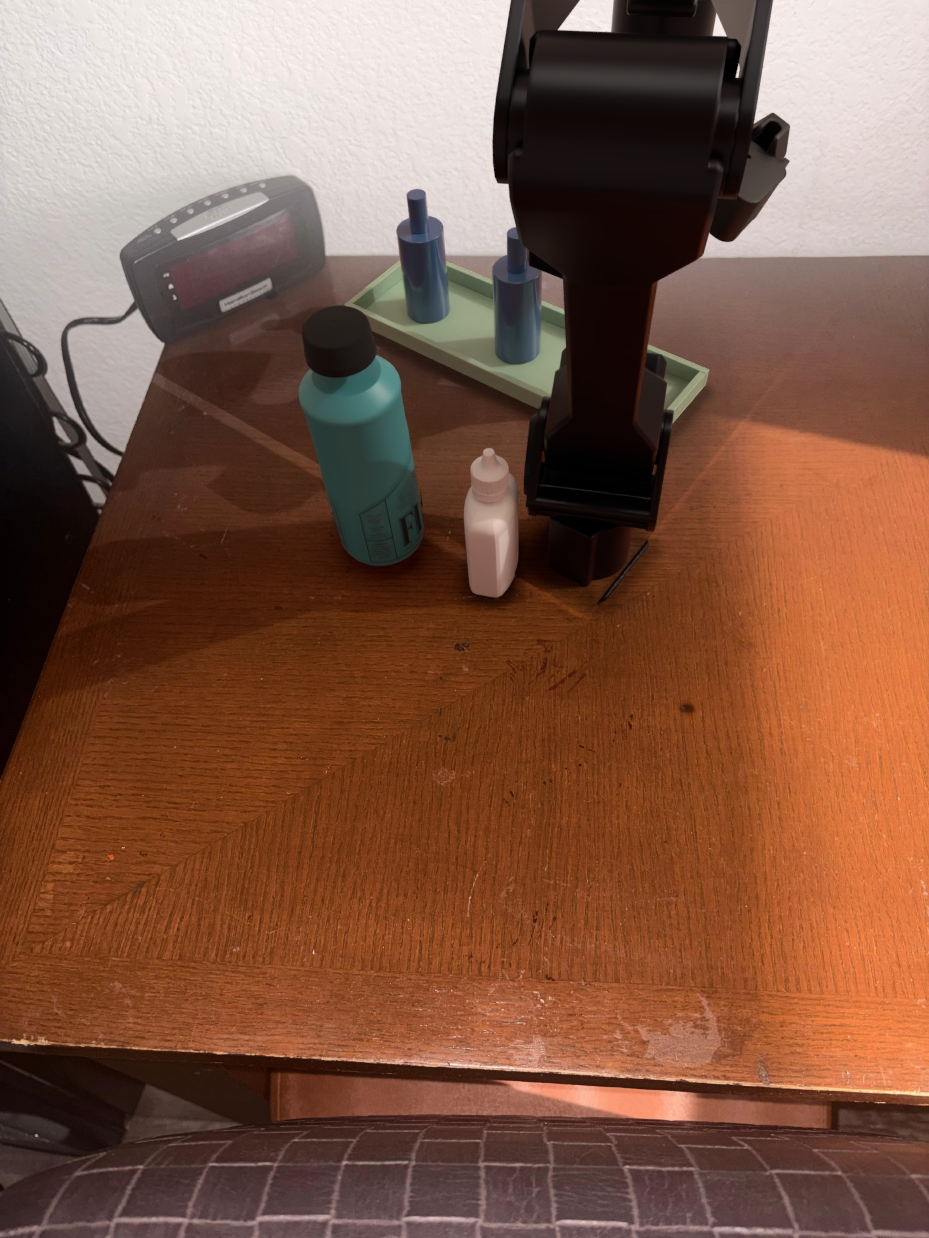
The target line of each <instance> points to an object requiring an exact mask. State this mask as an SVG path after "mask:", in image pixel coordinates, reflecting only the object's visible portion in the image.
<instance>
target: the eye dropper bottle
mask: <svg viewBox="0 0 929 1238" xmlns="http://www.w3.org/2000/svg"><path fill="white" fill-rule="evenodd" d="M469 472H470V485H471V486H470V487H469V489H468V491H467V494H466V496H465V500H464V506H463V526H464V527H463V528H464V538H465V541H464V542H465V551H466V562H467V573H468V585H469V588H470V591H471V592H472V593H473V594H474V595H479V596H482V597H489V598H500V597H502V596H503V595H504V594H505V592H506V591H507V590H508V589H509V587H510V586H511V584H512V583H513V581H514V578H515V577H516V574H515V573H516V570H517V567H518V563H519V551H520V549H519V490H518V484H517V481H516V479H515V477H514V476H513V474H511V473H510V469H509V464H508V461H507V460H505V458H503V457H502V456H500V455H497V454H496V453H495V450H494V449H493V448H491V447H487V448H485V449H483V451H482V454H481V456H478V457H477V458H476V459H474V460H473V462H472V463H471V466H470V471H469Z"/></svg>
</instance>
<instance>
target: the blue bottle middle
mask: <svg viewBox="0 0 929 1238" xmlns="http://www.w3.org/2000/svg"><path fill="white" fill-rule="evenodd" d="M491 277H492V279H491V280H492V281H493V313H494V345H495V353H496V355H497V357H498V358H499V359H500V360H502V361H504V362H506V363H509V364H524V363H528V362H530V361H532V360H534V359H535V358H536V357H537V356H538V354H539V353H540V345H541V304H542V301H543V300H542V297H543V271H541V270H538V269H536V268H533V267H531V266H529V264H528V260H527V248H525V247H524V246H523V244H522V243H521V242H520V240H519V238H518V233H517V229H516V226H514V227H511V228H508V230H507V231H506V254H505V255H503V256H501V257H499V258H498V259H497V260H495V261H494V263H493V265H492V268H491Z"/></svg>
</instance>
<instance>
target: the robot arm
mask: <svg viewBox="0 0 929 1238" xmlns="http://www.w3.org/2000/svg"><path fill="white" fill-rule="evenodd" d="M580 1H581V0H510V3H509V9H508V15H507V23H506V29H505V35H504V43H503V49H502V54H501V61H500V66H499V67H500V68H499V74H498V81H497V86H496V92H495V93H496V94H495V102H494V110H493V119H492V121H493V122H492V141H491V142H492V145H491V146H492V167H493V175H494V179H495V181H496V183H497V184H499V185H500V184H502V185H508V195H509V203H510V208H511V212H512V216H513V221H514V223H515V227H516V229H517V233H518V238H519V240H520V242H521V243H522V244H523V246H524V247H525V248H527V260H528V264H529V266H531V267H533V268H536V269H538V270H541V271H542V273H543V272H544V273H546V274H549V275H551V276H552V277H553V276H554V277H556V278H558V279H560V280H562V287H563V288H562V291H563V309H564V315H565V337H566V348H565V349H564V350H563V351H562V354H561V361H560V367H559V369H558V370H557V371H555V375H554V381H553V387H552V393H551V397H550V396H544V397H543V399H542V402H541V406H539V409H537V412H536V413H534V414H533V415H532V416H531V417H530V418H529V424H528V433H527V441H526V442H527V443H526V451H525V458H524V459H525V460H524V469H523V494H524V495H525V496H526V499H525V501H526V502H525V508H527V514H528V516H531V517H537V516H542V517H549V522H548V523H549V524H548V525H549V526H548V545H547V546H548V548H547V568H548V569H550V570H552V571H554V572H556V573H558V575H561V576H562V577H565V578H567V579H569V580H570V581H572V582H574V583H576V584H577V585H579V586H580V587H584V588H585V587H588V586H589V585H590V584H591V583H592V582H593V581H598V580H604V579H607V578H610V577H612V576H614V575H616V574H617V573H618V572H619V571H621V570H622V571H621V572H620V573H619V574H618V576H617V577H616V578H615V579H614V580H613V582H612V583H611V584H610V586H609V587H608V588H607V589H606V591H605V592H604V593H603V594H602V596H601V597H600V598H599V599H598V602H599V603H604V602H606V601H607V600H608V599H609V597H610V596H611V595H612V594H613V592H614V591H615V590H616V589H617V587H618V586H619V585H620V583H622V581H623V580H624V579H625V577H626V576H627V575H628V574H629V572H630V571H631V570H632V568H633V567H634V566H635V565H636V564H637V562H638V561H639V560H640V558H641V557H642V556H643V555H644V554H645V552H646V551H647V549H648V546H649V544H650V543H649V540H648V539H646V540H645V542H644V543H643V544H642V545H641V547H640V548H639V549H638V551H637V552H636V553H635V554H634V556H633V557H632V558H631V559H630V560H629V562H628V563H627V561H628V559H629V555H630V550H631V544H632V538H633V533H634V529H638V530H639V529H641V530H645V531H646V532H652V533H654V532H655V529H656V525H657V521H658V516H659V508H660V502H661V499H662V498H661V497H662V491H663V485H664V478H665V473H666V467H667V461H668V455H669V449H670V442H671V436H672V430H673V424H674V423H673V415H674V410H669V409H664V403H665V397H666V390H667V382H666V381H665V380H664V377H665V371H666V365H667V362H666V360H665V358H664V357H663V355H662V354H655V353H647V348H648V344H649V341H650V334H651V329H652V324H651V322H652V323H653V318H652V315H653V316H654V312H653V309H654V310H655V306H654V302H655V303H656V300H655V296H656V297H657V294H656V289H657V290H658V288H657V283H658V284H659V282H658V281H660V280H662V279H664V278H667V277H669V276H670V275H672V274H674V273H675V272H678V271H679V270H682V269H683V268H686V267H687V266H689V265H690V264H691V265H692V264H693V263H695V262H696V261H698V260H699V259H701V258H702V257H703V256H704V254H705V251H706V247H707V243H708V239H709V237H710V235H711V236H712V237H713V238H714V239H716V240H718V241H720V242H723V243H731V242H734V241H735V240H736V239H738V238H739V236H740V235H741V233H742V232H743V231H744V230H745V229H746V228H747V227H748V226H749V225H750V224H751V223H752V222H753V221H754V220H755V219H756V218H757V217H758V216H759V214H760V212H761V211H762V210H763V208H764V207H765V205H766V204H767V203H768V201H769V199H770V198H771V197H772V195H773V194H774V192H775V191H776V189H777V187H778V186H779V185H780V184H781V182H783V180H784V179H785V178H786V177H787V166H788V165H789V164H790V162H791V161H790V160H789V159H788V158H787V157H786V156H787V152H788V145H789V137H790V130H791V124H790V123H788V122H787V121H785V120H784V119H783V118H782V117H781V116H779V115H778V114H776V113H775V112H770V113H768V114H767V115H765V116H764V117H762V118H761V119H759V120H758V121H756V122H755V119H756V113H757V109H758V101H759V94H760V88H761V82H762V74H763V69H764V63H765V62H764V61H765V55H766V49H767V44H768V36H769V31H770V24H771V17H772V11H773V5H774V0H613V2H612V3H613V4H612V14H611V27H610V31H594V30H593V31H592V30H571V29H570V30H567V29H566V30H565V29H560V28H561V26H562V25H563V24H564V23H565V21H566V19H568V17H569V16H570V14H571V13H572V12H573V10H574V9H575V8H576V6H577V5H578V4H579V2H580ZM717 17H718V19H719V22H720V24H721V26H722V29H723V31H724V33H725V35H714V29H715V24H716V19H717ZM738 69H739V70H738ZM737 73H738V77H737ZM650 328H651V329H650ZM672 423H673V424H672ZM626 563H627V565H626ZM624 566H625V567H624Z"/></svg>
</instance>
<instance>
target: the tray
mask: <svg viewBox="0 0 929 1238" xmlns="http://www.w3.org/2000/svg"><path fill="white" fill-rule="evenodd" d="M446 263H447V276H448V288H449V300H450V311H449V314H448V315H447V316H446V317H445V318H444V319H442V320H440V321H438V322H435V323H429V324H424V323H418V322H415V321H413V320H412V319H411V318H410V317H409V316H408V314H407V310H406V302H405V294H404V287H403V279H402V272H401V264H400V259H399V260H397V262H395V263H394V264H392V265H391V266H390V267H389V268H387V270H385V271H384V272H382V273H381V274H380V275H379V276H378V277H376V278H375V279H374V280H373V281H371V282H370V283H368V285H366V286H365V287H364V288H363V289H361V290H360V291H359V292H358V293H357V294H355V295H354V296H353V297H351V298H350V299H349V300H348V301H346V302H345V303H344V304H343V306H349V307H353V308H356V309H358V310H360V311H361V312H363V313H364V314H365V315H366V317H367V318H368V320H369V323H370V326H371V330H372V333H376V334H377V335H380V336H382V337H384V338H386V339H388V340H390V341H393V342H395V343H396V344H399V345H401V346H403V347H405V348H407V349H409V350H412V351H414V352H416V353H418V354H420V355H422V356H424V357H427V358H429V359H431V360H433V361H435V362H437V363H439V364H441V365H444V366H445V367H448V368H450V369H452V370H453V371H457V372H458V373H461V374H463V375H464V376H467V377H468V378H471V379H473V380H475V381H477V382H479V383H482V384H484V385H486V386H488V387H490V388H492V389H495V390H496V391H499V392H501V393H503V394H505V395H507V396H509V397H511V398H514V399H516V400H518V401H520V402H522V403H524V404H525V405H528V406H531V407H533V408H534V409H537V410H538V409H539V406H541V402H542V399H543V397H544V396H550V397H551V393H552V387H553V381H554V375H555V371H557V370H558V369H559V367H560V361H561V354H562V351H563V350H564V349H565V348H566V337H565V315H564V308H561V307H560V306H556V305H555V304H552V303H549V302H547V301H545V300H542V304H541V345H540V353H539V354H538V356H537V357H536V358H535V359H534V360H532V361H530V362H528V363H524V364H509V363H506V362H504V361H502V360H500V359H499V358H498V357H497V355H496V353H495V345H494V313H493V281H492V279H491V278H489V277H486V276H484V275H481V274H479V273H476V272H474V271H471V270H470V269H467V268H464V267H462V266H459V265H457V264H454V263H452V262H450V261H447V260H446ZM647 353H655V354H662V355H663V357H664V358H665V360H666V362H667V365H666V371H665V377H664V380H665V381H666V382H667V390H666V397H665V403H664V409H669V410H674V415H673V423H672V425H673V424H674V423H675V422H676V421H677V419H678V418H679V417H680V415H682V413H683V412H684V411H685V410H686V409H687V408H688V406H689V405H690V404H691V403H692V402H693V400H694V399H695V398H696V397H697V396H698V395H699V394H700V392H701V391H702V390H703V388H705V386H706V385H707V382H708V377H709V373H710V369H709V368H707V367H704V366H702V365H699V364H697V363H695V362H693V361H689V360H687V359H685V358H682V357H680V356H679V355H675V354H673V353H670V352H668V351H666V350H663V349H660V348H658V347H656V346H653V345H651V344H649V343H648V348H647Z"/></svg>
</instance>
